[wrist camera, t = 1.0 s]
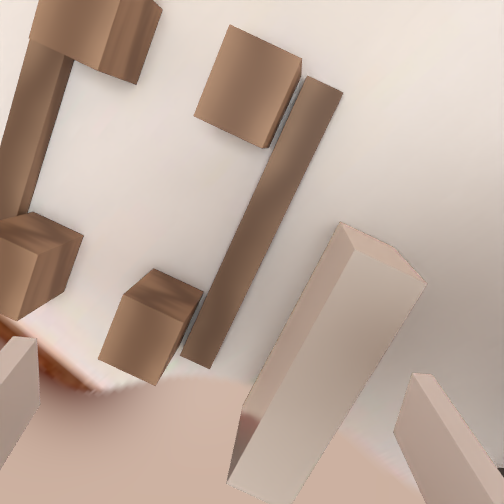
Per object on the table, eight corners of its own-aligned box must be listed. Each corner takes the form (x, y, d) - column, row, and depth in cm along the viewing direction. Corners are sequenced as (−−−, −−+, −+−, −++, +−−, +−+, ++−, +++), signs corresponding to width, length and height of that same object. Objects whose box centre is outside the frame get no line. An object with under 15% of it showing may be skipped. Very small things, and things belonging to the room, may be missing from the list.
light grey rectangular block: (393, 246, 36) (427, 284, 27) (289, 426, 42) (286, 512, 32) (339, 221, 36) (354, 249, 27) (243, 404, 42) (226, 483, 32)
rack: (341, 94, 34) (352, 82, 27) (212, 361, 40) (195, 404, 34) (63, -38, 33) (3, -84, 27) (-19, 253, 40) (-83, 275, 34)
